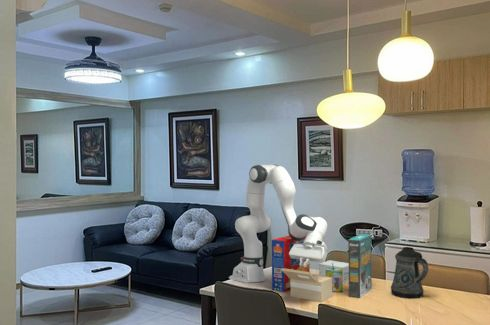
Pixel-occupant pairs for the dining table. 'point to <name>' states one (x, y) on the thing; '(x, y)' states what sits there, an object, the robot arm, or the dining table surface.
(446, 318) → the dining table surface
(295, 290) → the carton
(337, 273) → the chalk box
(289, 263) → the pasta box
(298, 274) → the flap
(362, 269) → the cake mix box
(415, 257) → the beer stein
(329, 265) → the supplement box
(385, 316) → the dining table surface
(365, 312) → the dining table surface
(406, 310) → the dining table surface
